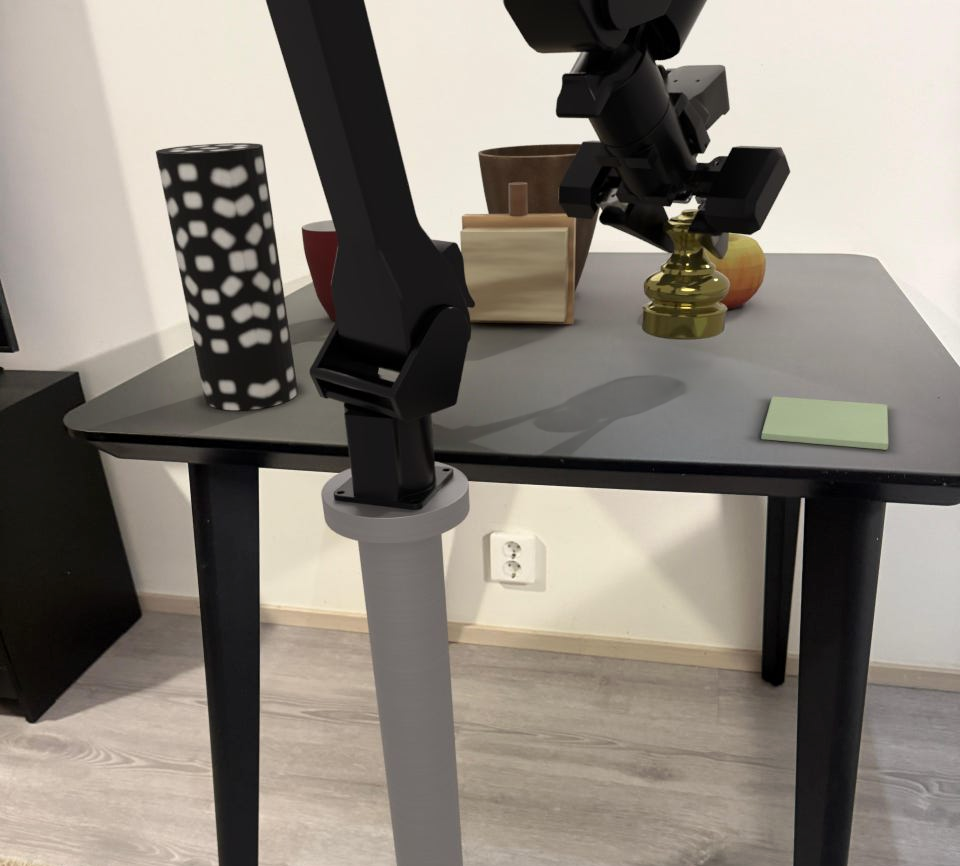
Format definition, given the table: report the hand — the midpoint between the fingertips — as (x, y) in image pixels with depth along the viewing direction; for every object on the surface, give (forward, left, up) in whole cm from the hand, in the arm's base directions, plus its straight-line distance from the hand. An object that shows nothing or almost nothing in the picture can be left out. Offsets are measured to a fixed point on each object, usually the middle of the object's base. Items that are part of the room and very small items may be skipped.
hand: (698, 251), depth 81 cm
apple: (+25, +1, -10) cm, 27 cm away
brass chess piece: (-2, +1, -7) cm, 7 cm away
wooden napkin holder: (+12, +21, -10) cm, 26 cm away
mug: (+11, +40, -10) cm, 43 cm away
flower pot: (+26, +22, -10) cm, 36 cm away
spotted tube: (-17, +37, -10) cm, 42 cm away
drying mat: (-12, -13, -10) cm, 21 cm away
